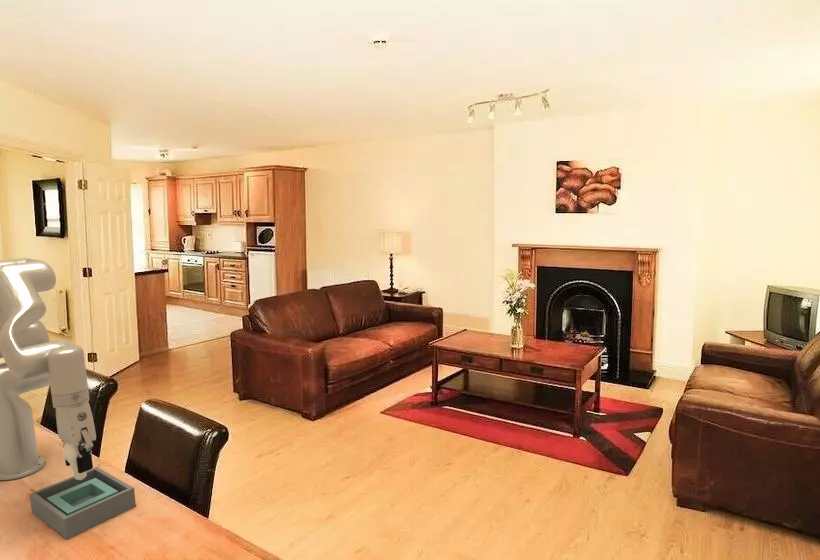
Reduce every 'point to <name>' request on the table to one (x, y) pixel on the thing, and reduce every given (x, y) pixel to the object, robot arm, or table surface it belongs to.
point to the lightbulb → (73, 459)
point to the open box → (82, 502)
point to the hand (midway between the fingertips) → (79, 466)
